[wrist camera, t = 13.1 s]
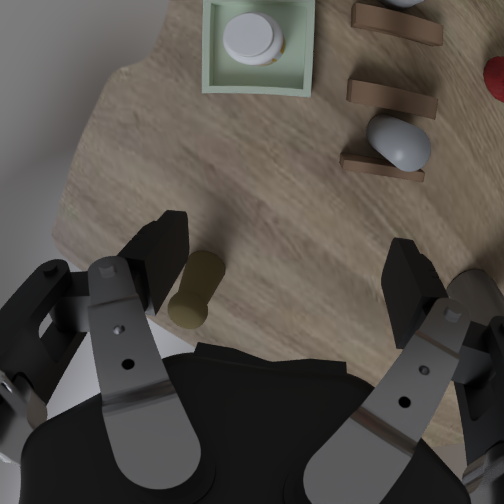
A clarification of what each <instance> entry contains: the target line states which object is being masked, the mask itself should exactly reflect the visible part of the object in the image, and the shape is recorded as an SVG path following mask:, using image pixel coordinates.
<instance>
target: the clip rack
mask: <svg viewBox="0 0 504 504" xmlns="http://www.w3.org/2000/svg"><path fill="white" fill-rule="evenodd" d="M351 27H354V28H360V29H365V30H370V31H375V32H380V33H385V34H389V35H393V36H397V37H401V38H405V39H409V40H412V41H416V42H420V43H423V44H426V45H429V46H441V45H443V25H440V24H437V23H434V22H431V21H428V20H425V19H422V18H419V17H415V16H412V15H408V14H405V13H401V12H397V11H393V10H389V9H385V8H381V7H376V6H371V5H366V4H361V3H356V4H355V5H354V6H353V7H352V10H351ZM346 100H347V101H349V102H352V103H358V104H364V105H370V106H376V107H381V108H386V109H391V110H396V111H401V112H406V113H410V114H414V115H418V116H423V117H427V118H431V119H434V120H435V118H436V111H437V103H438V99H437V98H434V97H430V96H426V95H423V94H419V93H415V92H411V91H407V90H402V89H398V88H393V87H389V86H384V85H379V84H374V83H368V82H363V81H357V80H350V79H348V85H347V97H346ZM339 163H340V165H341V167H342V169H343V170H347V171H355V172H362V173H369V174H376V175H382V176H389V177H395V178H401V179H406V180H412V181H418V182H423V181H424V176H425V172H424V171H423V170H421V169H418V170H416V171H412V172H407V171H402V170H400V169H399V168H397V167H396V166H395V165H394V164H392V163H391V162H390V161H389V160H386V159H380V158H373V157H367V156H360V155H353V154H346V153H340V161H339Z"/></svg>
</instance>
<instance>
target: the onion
mask: <svg viewBox="0 0 504 504" xmlns="http://www.w3.org/2000/svg"><path fill="white" fill-rule="evenodd" d="M483 76H484V82H485V84H486V86H487V89H488V90H489V92H490V93H491V94H492V95H493V96H494V98H495V99H497V100H499V101H501V102H504V57H494V58H492V59H490V60H489V61H488V62H487V64H486V66H485V68H484V73H483Z"/></svg>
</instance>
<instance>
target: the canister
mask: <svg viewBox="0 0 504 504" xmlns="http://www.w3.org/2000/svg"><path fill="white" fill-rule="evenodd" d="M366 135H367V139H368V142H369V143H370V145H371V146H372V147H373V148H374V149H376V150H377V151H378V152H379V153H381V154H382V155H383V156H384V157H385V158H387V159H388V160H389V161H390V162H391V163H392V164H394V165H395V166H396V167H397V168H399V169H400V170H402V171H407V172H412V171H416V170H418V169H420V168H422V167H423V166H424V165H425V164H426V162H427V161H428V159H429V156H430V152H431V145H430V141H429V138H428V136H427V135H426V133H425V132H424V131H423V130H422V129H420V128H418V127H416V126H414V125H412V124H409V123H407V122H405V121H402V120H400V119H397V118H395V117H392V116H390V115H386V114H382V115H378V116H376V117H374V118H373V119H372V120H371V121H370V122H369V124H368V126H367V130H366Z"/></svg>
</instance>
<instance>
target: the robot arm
mask: <svg viewBox="0 0 504 504" xmlns="http://www.w3.org/2000/svg"><path fill="white" fill-rule="evenodd" d="M188 256H189V232H188V217H187V213H186V212H185V211H174V210H166V211H165V212H164V214H163V215H162V216H161V217H160V218H159V219H158V220H157V221H152V222H150V223H149V224H147V225H145V226H143V227H142V228H141V229H140V231H139V232H138V233H137V235H135V236H134V237H133V238H132V240H130V241H129V242H128V243H127V245H126V246H125V247H124V248H123V249H122V250H121V251H120V252H119V253H118V255H117V256H108V257H103V258H101V259H98V260H96V261H95V262H93V263H92V264H91V265H90V267H89V268H88V271H84V272H70V269H69V266H68V263H67V262H66V261H64V260H61V259H55V260H51V261H48V262H46V263H43V264H42V265H40V266H39V267H38V268H37V269H36V270H35V271H34V272H33V273H32V274H31V275H30V276H29V277H28V279H27V280H26V281H25V282H24V283H23V284H22V285H21V286H20V287H19V288H18V290H17V291H16V292H15V293H14V294H13V295H12V296H11V298H10V299H9V300H8V301H7V302H6V303H5V305H4V306H3V307H2V308H1V310H0V459H1V460H2V461H4V462H7V463H15V464H16V465H18V466H19V467H20V468H21V490H20V500H19V504H504V296H503V294H502V293H501V291H500V289H499V288H498V286H497V285H496V283H495V282H494V280H493V279H492V278H489V277H488V276H487V274H486V273H485V272H484V271H482V270H478V269H473V270H469V271H466V272H464V273H462V274H460V275H459V276H458V277H456V278H455V279H454V280H453V281H452V282H451V283H450V285H449V286H448V288H447V290H445V288H444V286H443V284H442V282H441V280H440V279H439V276H438V274H437V272H436V270H435V268H434V266H433V264H432V262H431V261H430V260H429V259H428V258H427V257H426V256H425V255H423V254H420V252H419V250H418V249H417V247H416V245H415V243H414V241H413V240H410V239H403V238H396V237H395V238H394V239H393V240H392V242H391V246H390V249H389V252H388V256H387V259H386V262H385V265H384V268H383V272H382V277H381V286H382V290H383V294H384V298H385V302H386V305H387V309H388V314H389V318H390V322H391V326H392V330H393V335H394V339H395V344H396V349H403V351H402V352H401V354H400V355H399V357H398V358H397V359H396V361H395V362H394V364H393V365H392V366H391V368H390V369H389V370H388V372H387V373H386V374H385V376H384V377H383V378H382V380H381V381H380V382H379V384H378V385H377V386H376V387H373V386H372V385H371V384H369V383H368V382H366V381H364V380H362V379H361V378H359V377H356V376H354V375H351V374H348V373H347V368H346V362H342V361H330V360H319V359H301V360H290V361H277V362H271V361H267V360H264V359H261V358H258V357H255V356H253V355H250V354H247V353H245V352H242V351H239V350H237V349H234V348H229V347H223V346H217V345H211V344H206V343H200V342H198V343H197V346H196V349H195V351H194V353H182V354H176V355H172V356H169V357H166V358H163V359H161V356H160V354H159V351H158V349H157V346H156V344H155V341H154V338H153V335H152V333H151V330H150V327H149V324H148V321H147V318H146V316H145V314H147V315H152V316H156V314H157V312H158V311H159V309H160V307H161V305H162V304H163V302H164V300H165V298H166V296H167V295H168V293H169V291H170V290H171V288H172V286H173V284H174V283H175V281H176V279H177V277H178V276H179V274H180V272H181V271H182V269H183V267H184V265H185V264H186V262H187V260H188ZM48 313H49V314H50V316H51V318H52V320H53V321H52V323H51V324H50V326H49V327H48V328H47V330H46V331H45V333H44V334H43V336H42V337H41V338H39V332H38V331H39V326H40V324H41V322H42V321H43V319H44V318H45V317H46V315H47V314H48ZM87 332H90V335H91V341H92V348H93V354H94V360H95V366H96V370H97V376H98V381H99V386H100V391H101V393H99V394H97V395H95V396H93V397H91V398H89V399H88V400H86V401H84V402H82V403H80V404H78V405H76V406H74V407H72V408H71V409H68V410H67V411H65V412H63V413H61V414H59V415H57V416H55V417H53V418H51V419H49V420H47V408H46V405H47V404H48V402H49V400H50V398H51V396H52V394H53V392H54V390H55V388H56V386H57V385H58V383H59V381H60V379H61V377H62V376H63V374H64V372H65V370H66V368H67V367H68V365H69V363H70V361H71V359H72V358H73V356H74V354H75V353H76V351H77V349H78V348H79V346H80V344H81V342H82V341H83V339H84V337H85V336H86V334H87ZM450 380H452V381H454V385H455V390H456V395H457V400H458V405H459V410H460V416H461V422H462V428H463V435H464V442H465V450H466V459H467V468H466V469H465V471H464V473H463V476H462V482H461V481H460V480H459V478H458V477H457V476H456V475H455V474H454V473H453V472H452V471H451V470H450V469H449V467H448V466H447V465H446V464H445V463H444V462H443V461H442V460H441V459H440V458H439V457H438V455H437V454H436V453H435V452H434V451H433V450H432V449H431V448H430V447H429V445H428V444H427V443H426V442H425V441H424V440H423V439H422V438H421V436H422V434H423V433H424V431H425V429H426V428H427V426H428V424H429V422H430V420H431V419H432V417H433V415H434V413H435V411H436V409H437V407H438V405H439V403H440V401H441V399H442V397H443V395H444V393H445V391H446V389H447V387H448V385H449V383H450ZM46 420H47V421H46Z"/></svg>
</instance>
